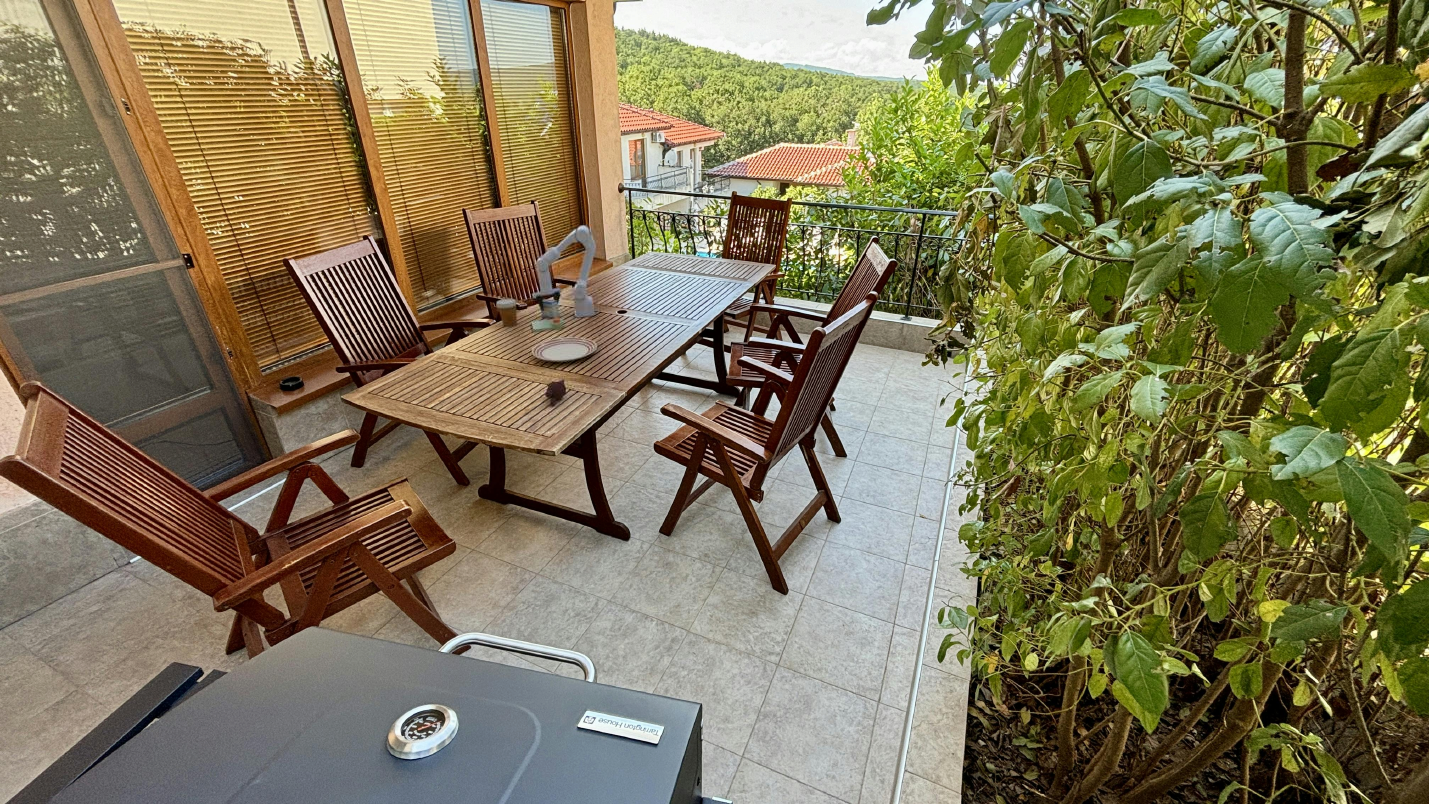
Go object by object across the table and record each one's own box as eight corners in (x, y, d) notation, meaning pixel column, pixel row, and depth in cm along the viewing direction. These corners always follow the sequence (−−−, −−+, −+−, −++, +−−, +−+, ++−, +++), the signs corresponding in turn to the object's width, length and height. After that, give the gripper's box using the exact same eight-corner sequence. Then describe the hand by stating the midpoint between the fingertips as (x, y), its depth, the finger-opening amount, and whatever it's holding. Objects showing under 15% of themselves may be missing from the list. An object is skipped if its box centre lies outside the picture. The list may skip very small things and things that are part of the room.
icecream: (551, 373, 225) (535, 394, 213) (568, 370, 223) (553, 390, 211) (558, 389, 229) (543, 410, 216) (575, 385, 227) (561, 407, 214)
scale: (561, 320, 299) (560, 314, 297) (564, 328, 288) (563, 322, 287) (531, 324, 295) (530, 318, 293) (533, 332, 284) (532, 326, 283)
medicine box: (541, 317, 304) (539, 301, 300) (547, 314, 307) (544, 298, 303) (554, 319, 301) (552, 302, 297) (559, 316, 305) (557, 300, 301)
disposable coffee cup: (523, 321, 299) (519, 298, 293) (515, 328, 290) (511, 304, 285) (505, 321, 300) (500, 298, 294) (497, 327, 291) (492, 304, 286)
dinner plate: (575, 338, 276) (574, 331, 275) (610, 353, 259) (609, 346, 257) (521, 355, 259) (519, 348, 258) (554, 372, 242) (553, 365, 240)
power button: (559, 320, 290) (559, 317, 290) (560, 322, 288) (559, 319, 287) (553, 321, 290) (552, 318, 289) (553, 323, 287) (553, 320, 286)
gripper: (534, 287, 289) (539, 313, 295) (562, 281, 297) (566, 307, 303) (529, 284, 294) (533, 310, 300) (556, 278, 302) (559, 304, 308)
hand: (549, 308), depth 302 cm, fingers open, 7 cm apart
